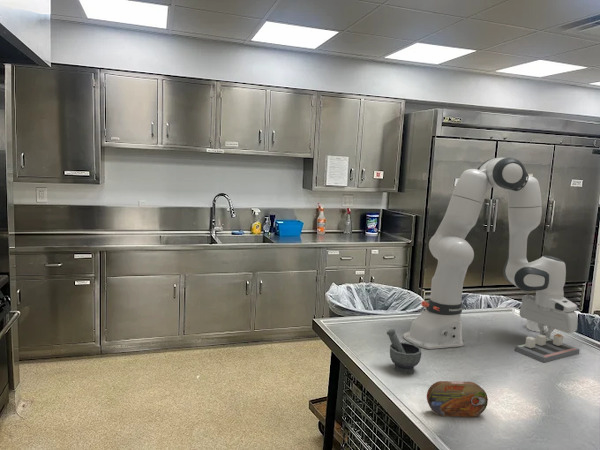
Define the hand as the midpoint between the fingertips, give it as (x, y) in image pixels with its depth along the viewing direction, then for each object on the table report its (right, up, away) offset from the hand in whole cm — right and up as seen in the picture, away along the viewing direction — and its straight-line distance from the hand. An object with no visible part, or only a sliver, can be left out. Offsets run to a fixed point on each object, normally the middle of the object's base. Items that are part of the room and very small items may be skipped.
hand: (544, 336), depth 167 cm
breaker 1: (-9, -2, -8) cm, 12 cm away
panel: (-3, -4, -7) cm, 9 cm away
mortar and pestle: (-59, -4, -26) cm, 64 cm away
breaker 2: (-4, -2, -5) cm, 7 cm away
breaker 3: (+2, -2, -4) cm, 5 cm away
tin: (-51, -7, -51) cm, 72 cm away
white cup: (+5, -1, +17) cm, 18 cm away
